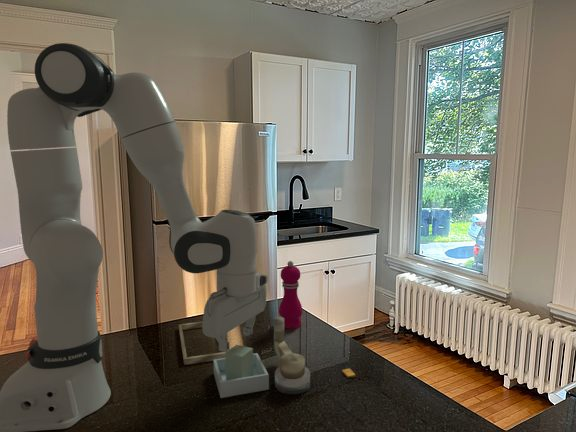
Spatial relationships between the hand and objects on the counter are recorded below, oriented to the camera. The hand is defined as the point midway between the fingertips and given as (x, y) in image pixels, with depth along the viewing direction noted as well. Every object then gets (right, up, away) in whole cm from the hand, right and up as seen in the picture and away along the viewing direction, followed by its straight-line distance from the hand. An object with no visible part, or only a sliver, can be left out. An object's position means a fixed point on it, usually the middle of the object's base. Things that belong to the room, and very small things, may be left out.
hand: (236, 342), depth 94 cm
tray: (+1, -9, +2) cm, 10 cm away
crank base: (+18, -9, +2) cm, 20 cm away
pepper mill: (+13, -5, +33) cm, 36 cm away
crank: (+11, -6, +4) cm, 13 cm away
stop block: (+1, -9, +1) cm, 9 cm away
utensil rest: (-12, -7, +21) cm, 25 cm away
